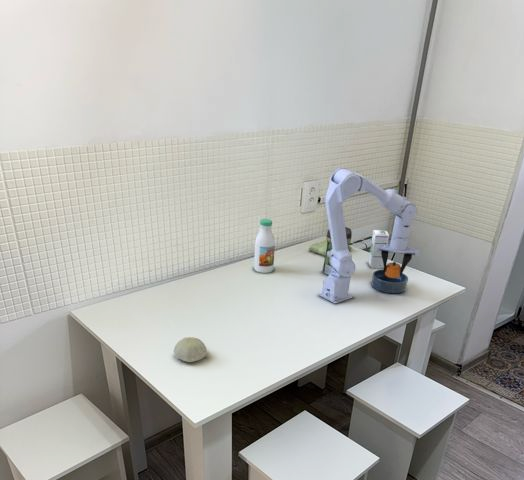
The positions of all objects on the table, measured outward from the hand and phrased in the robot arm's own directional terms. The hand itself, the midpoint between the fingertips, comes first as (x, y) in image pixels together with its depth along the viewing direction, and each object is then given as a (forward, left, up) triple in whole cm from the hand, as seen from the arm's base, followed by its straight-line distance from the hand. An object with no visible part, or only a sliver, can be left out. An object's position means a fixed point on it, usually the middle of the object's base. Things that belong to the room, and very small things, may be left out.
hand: (392, 272), depth 178 cm
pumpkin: (0, 0, -1) cm, 1 cm away
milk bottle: (-26, +43, -9) cm, 50 cm away
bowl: (+4, +4, -8) cm, 10 cm away
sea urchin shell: (-84, +5, -9) cm, 84 cm away
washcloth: (+13, +44, -9) cm, 46 cm away
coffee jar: (-4, +25, -9) cm, 26 cm away
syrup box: (+17, +21, -9) cm, 28 cm away
